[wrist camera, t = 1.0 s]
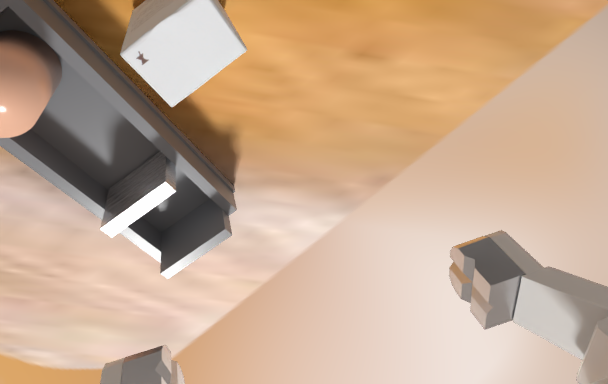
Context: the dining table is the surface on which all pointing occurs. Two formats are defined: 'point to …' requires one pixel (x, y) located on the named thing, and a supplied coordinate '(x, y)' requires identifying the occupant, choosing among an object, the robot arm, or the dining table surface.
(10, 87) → the brown egg
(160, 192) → the plate
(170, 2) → the skincare box
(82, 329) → the dining table surface
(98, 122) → the pusher lane
